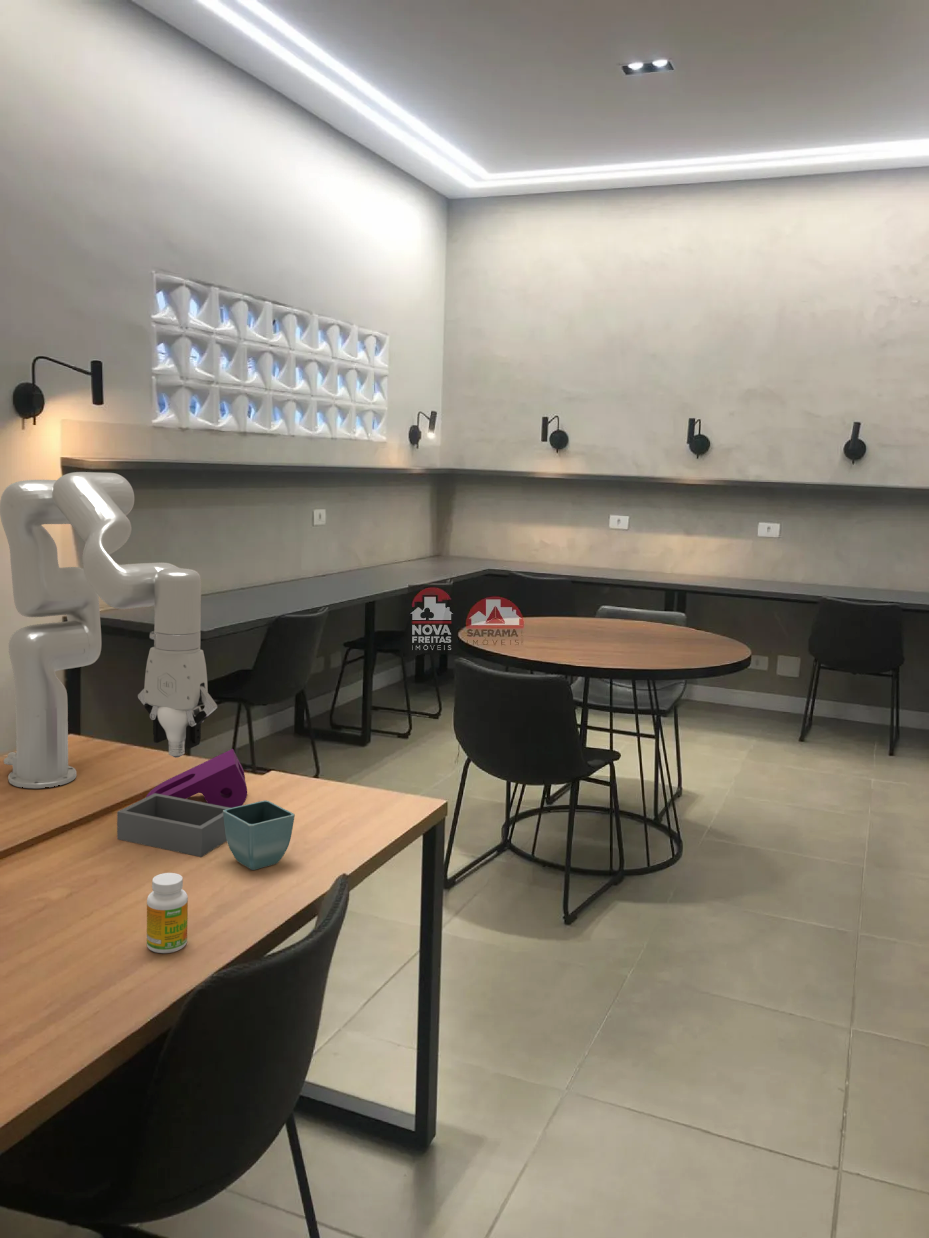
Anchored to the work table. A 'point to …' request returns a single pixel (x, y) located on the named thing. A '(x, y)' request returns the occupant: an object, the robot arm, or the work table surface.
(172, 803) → the open box
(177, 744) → the lightbulb
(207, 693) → the robot arm
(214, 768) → the mounting bracket
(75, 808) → the work table surface
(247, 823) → the flower pot
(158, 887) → the supplement bottle
